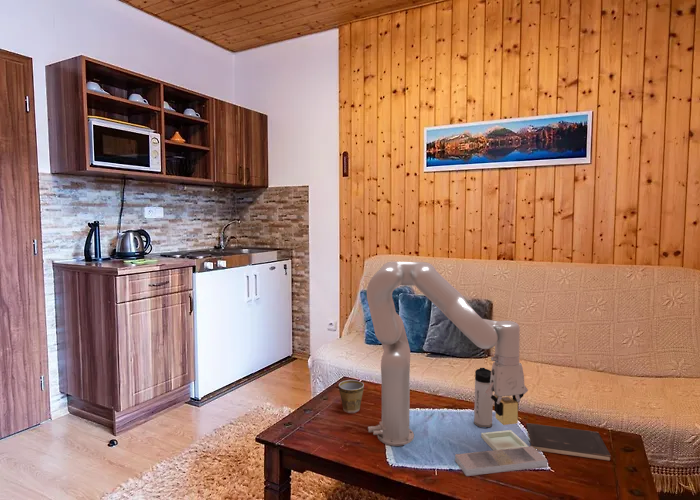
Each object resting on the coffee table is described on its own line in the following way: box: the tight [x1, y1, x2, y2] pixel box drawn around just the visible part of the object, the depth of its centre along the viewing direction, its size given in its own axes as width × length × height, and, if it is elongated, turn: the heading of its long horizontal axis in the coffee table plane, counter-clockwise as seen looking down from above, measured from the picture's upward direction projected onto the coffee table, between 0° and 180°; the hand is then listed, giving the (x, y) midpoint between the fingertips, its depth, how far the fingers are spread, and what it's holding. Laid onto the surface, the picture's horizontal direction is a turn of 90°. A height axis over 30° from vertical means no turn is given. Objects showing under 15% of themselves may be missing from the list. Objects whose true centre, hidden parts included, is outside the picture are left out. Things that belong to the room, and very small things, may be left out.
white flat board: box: [454, 445, 548, 477], centre depth 132 cm, size 26×8×2 cm, turn 100°
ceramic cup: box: [338, 379, 365, 414], centre depth 171 cm, size 13×10×10 cm
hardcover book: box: [525, 422, 612, 462], centre depth 144 cm, size 16×23×2 cm
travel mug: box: [473, 367, 494, 428], centre depth 157 cm, size 6×7×20 cm
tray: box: [480, 429, 529, 450], centre depth 143 cm, size 11×11×2 cm
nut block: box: [495, 396, 519, 426], centre depth 142 cm, size 5×5×7 cm
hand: (506, 412), depth 142 cm, fingers closed on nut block, 5 cm apart
